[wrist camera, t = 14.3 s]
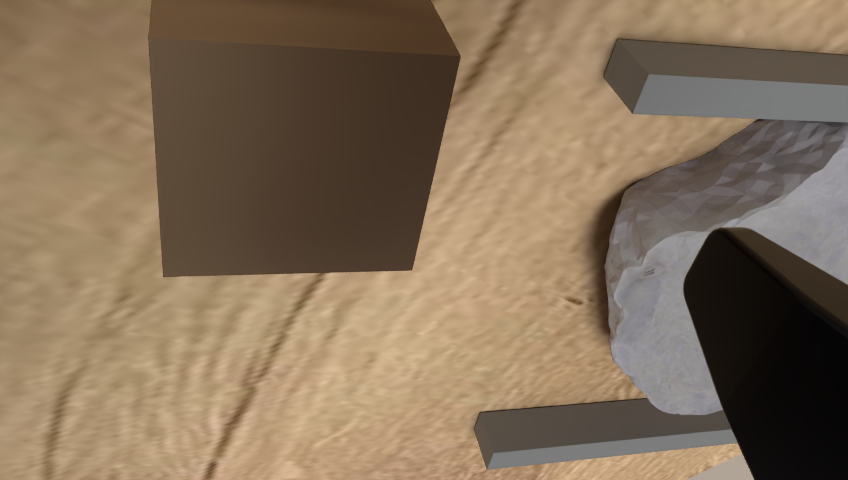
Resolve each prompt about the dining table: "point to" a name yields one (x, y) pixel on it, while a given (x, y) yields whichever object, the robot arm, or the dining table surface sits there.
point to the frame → (678, 96)
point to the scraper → (296, 132)
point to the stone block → (693, 221)
